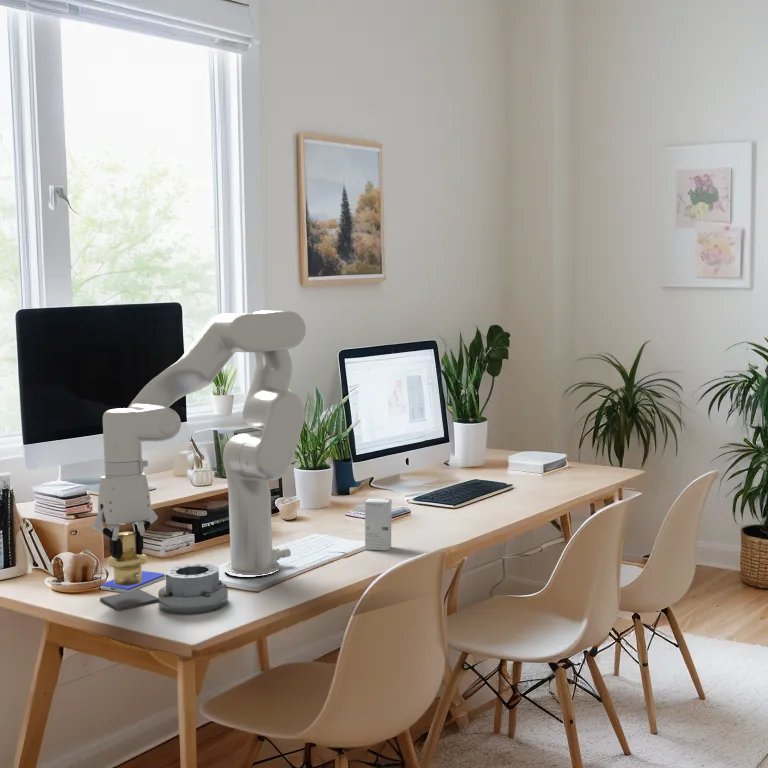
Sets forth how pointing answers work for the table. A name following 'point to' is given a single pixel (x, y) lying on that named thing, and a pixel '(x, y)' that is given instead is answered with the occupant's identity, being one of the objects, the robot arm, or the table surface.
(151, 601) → the mat
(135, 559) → the brass flanged shaft
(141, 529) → the robot arm
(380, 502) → the skincare box
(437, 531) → the table surface
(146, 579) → the hard drive
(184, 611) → the housing
